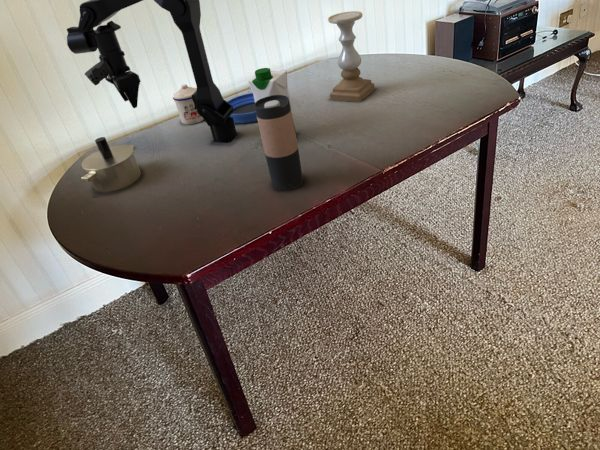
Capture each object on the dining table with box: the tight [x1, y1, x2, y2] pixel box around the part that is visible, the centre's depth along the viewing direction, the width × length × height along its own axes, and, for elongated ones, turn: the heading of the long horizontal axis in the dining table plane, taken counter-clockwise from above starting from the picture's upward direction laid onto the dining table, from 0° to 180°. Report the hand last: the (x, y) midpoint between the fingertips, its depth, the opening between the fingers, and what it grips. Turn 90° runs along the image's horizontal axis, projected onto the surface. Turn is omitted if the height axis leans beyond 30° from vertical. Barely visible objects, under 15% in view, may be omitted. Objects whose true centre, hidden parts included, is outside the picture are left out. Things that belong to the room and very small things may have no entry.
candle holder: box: [327, 10, 376, 103], centre depth 143 cm, size 11×11×24 cm
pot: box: [81, 144, 142, 193], centre depth 123 cm, size 12×18×7 cm
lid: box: [81, 136, 135, 171], centre depth 120 cm, size 13×13×6 cm
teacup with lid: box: [172, 83, 205, 125], centre depth 151 cm, size 12×9×12 cm
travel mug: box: [255, 95, 304, 191], centre depth 104 cm, size 8×8×20 cm
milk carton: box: [248, 67, 297, 135], centre depth 125 cm, size 9×9×20 cm
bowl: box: [226, 92, 258, 124], centre depth 150 cm, size 18×18×4 cm
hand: (130, 104), depth 136 cm, fingers open, 9 cm apart
